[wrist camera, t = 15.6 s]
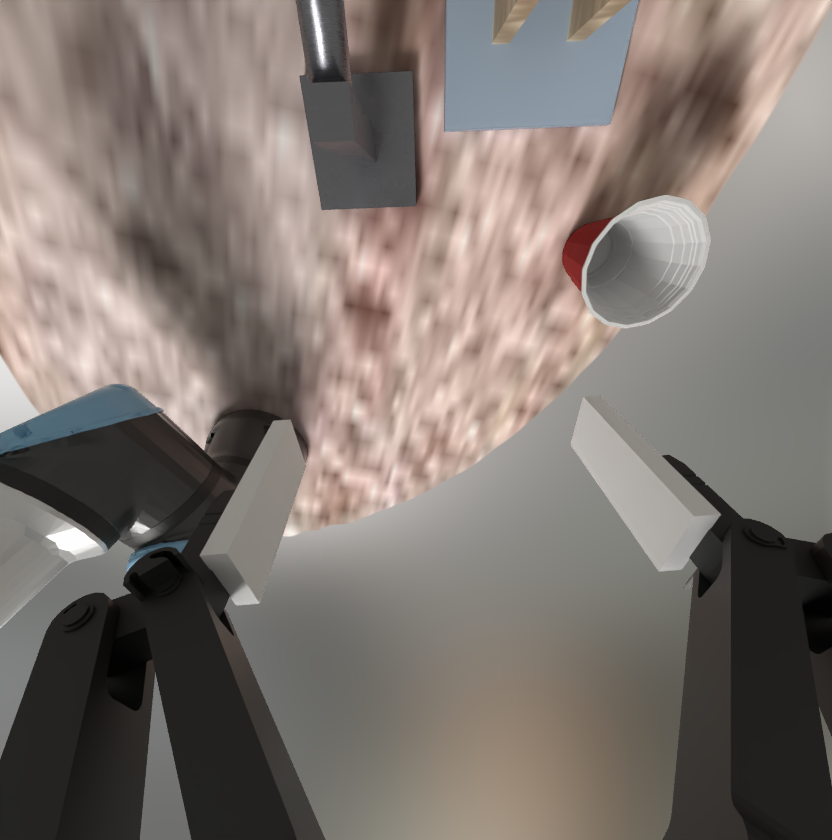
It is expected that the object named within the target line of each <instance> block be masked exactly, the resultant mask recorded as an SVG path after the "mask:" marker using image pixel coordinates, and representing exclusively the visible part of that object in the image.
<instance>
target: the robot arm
mask: <svg viewBox="0 0 832 840" xmlns="http://www.w3.org/2000/svg"><path fill="white" fill-rule="evenodd" d="M162 411H164V410H163V409H161V408H159V407H156V406H155V405H154V404H152V403H151V402H150V401H149V400H148V399H146V398H145V397H144V396H143V395H142V394H141V393H139V392H138V391H137V390H136V389H134V388H132V387H130V386H128V385H124V384H111V385H107V386H104V387H102V388H100V389H98V390H95V391H93V392H91V393H88V394H86V395H84V396H82V397H79V398H77V399H75V400H73V401H71V402H68V403H66V404H64V405H62V406H59V407H57V408H55V409H53V410H51V411H48V412H46V413H44V414H41V415H39V416H37V417H35V418H33V419H30V420H28V421H26V422H24V423H22V424H19V425H17V426H15V427H13V428H10V429H8V430H6V431H4V432H2V433H0V628H1V627H2V626H3V625H4V624H5V623H6V622H7V621H8V620H9V619H11V617H13V616H14V615H15V614H16V613H17V612H18V611H19V610H20V609H21V608H22V607H23V606H24V605H25V604H26V603H27V602H28V601H30V599H32V598H33V597H34V596H35V595H36V594H37V593H38V592H39V591H40V590H41V589H42V588H43V587H44V586H45V585H46V584H47V583H48V582H50V581H51V580H52V579H53V578H54V577H55V576H56V575H57V574H58V573H59V572H60V571H61V570H62V569H63V568H64V567H65V566H66V565H68V564H70V563H72V562H74V561H76V560H81V559H85V558H90V557H94V556H98V555H103V554H104V553H105V552H106V551H108V550H109V549H110V547H112V545H114V543H116V542H117V541H118V540H120V541H121V542H123V543H124V544H126V545H128V546H129V547H131V548H132V549H134V550H135V552H134V553H133V554H132V555H131V556H130V557H129V560H128V564H127V568H126V569H127V574H126V575H125V577H124V583H123V586H125V587H126V588H127V589H128V590H129V591H130V592H131V594H127V595H125V596H122V597H119V598H116V599H113V600H111V599H110V598H109V597H108V596H106V595H105V594H104V593H93V594H89V595H86V596H83V597H81V598H80V599H78V600H76V601H74V602H72V603H71V604H70V605H68V606H67V607H66V608H65V609H63V610H62V611H61V612H60V613H59V614H58V615H57V616H56V617H55V618H54V620H53V621H52V622H51V624H50V626H49V627H48V629H47V631H46V634H45V637H44V639H43V642H42V645H41V648H40V650H39V653H38V656H37V659H36V661H35V664H34V667H33V670H32V673H31V675H30V678H29V681H28V684H27V687H26V689H25V692H24V695H23V698H22V701H21V703H20V706H19V709H18V712H17V714H16V718H15V720H14V723H13V725H12V728H11V731H10V734H9V737H8V739H7V742H6V745H5V748H4V751H3V753H2V756H1V759H0V840H140V830H141V819H142V808H143V796H144V787H145V776H146V765H147V754H148V743H149V732H150V721H151V711H152V710H151V709H152V699H153V689H154V678H155V672H156V677H157V682H158V686H159V691H160V695H161V700H162V705H163V709H164V714H165V719H166V723H167V728H168V733H169V737H170V742H171V746H172V751H173V756H174V760H175V765H176V770H177V774H178V779H179V784H180V788H181V793H182V798H183V802H184V807H185V811H186V816H187V821H188V826H189V830H190V835H191V839H192V840H325V838H324V835H323V833H322V831H321V828H320V826H319V824H318V821H317V819H316V817H315V815H314V812H313V810H312V807H311V805H310V803H309V800H308V798H307V796H306V794H305V791H304V789H303V787H302V784H301V782H300V780H299V777H298V775H297V773H296V770H295V768H294V766H293V763H292V761H291V759H290V756H289V754H288V752H287V749H286V747H285V745H284V743H283V740H282V738H281V736H280V734H279V731H278V729H277V726H276V724H275V722H274V719H273V717H272V715H271V712H270V710H269V708H268V705H267V703H266V701H265V698H264V696H263V694H262V692H261V689H260V687H259V685H258V683H257V680H256V678H255V675H254V673H253V671H252V668H251V666H250V664H249V662H248V659H247V657H246V654H245V652H244V650H243V648H242V645H241V643H240V640H239V638H238V636H237V634H236V631H235V629H234V627H233V624H232V622H231V620H230V617H229V615H228V613H227V612H226V610H225V609H224V608H225V606H226V603H227V601H228V599H229V596H230V598H231V599H232V600H233V602H234V603H235V604H236V605H247V604H259V603H260V601H261V598H262V595H263V592H264V589H265V586H266V583H267V580H268V577H269V574H270V571H271V568H272V565H273V562H274V559H275V556H276V553H277V550H278V547H279V544H280V541H281V538H282V535H283V532H284V529H285V527H286V524H287V521H288V518H289V515H290V512H291V509H292V506H293V503H294V500H295V497H296V494H297V491H298V488H299V485H300V482H301V479H302V476H303V473H304V470H305V467H306V464H305V463H306V460H307V448H306V444H305V442H304V440H303V438H302V437H301V435H300V434H299V433H298V431H297V430H296V429H295V428H294V427H293V425H292V422H291V419H289V420H282V419H281V418H279V417H277V416H274V415H272V414H269V413H265V412H261V411H253V410H244V411H237V412H233V413H230V414H228V415H226V416H224V417H223V418H221V419H220V420H219V421H218V422H217V424H216V425H215V426H214V427H213V429H212V430H211V431H210V433H209V435H208V437H207V441H206V445H205V450H203V449H201V448H200V447H199V446H198V445H197V444H196V443H195V442H194V441H193V440H192V439H191V438H190V437H189V436H188V435H187V434H186V433H185V432H184V431H182V430H181V429H180V428H179V427H178V426H177V425H176V424H175V423H174V422H173V421H172V420H171V419H170V418H169V417H168V416H167V415H166V414H164V413H163V412H162ZM571 446H572V448H573V449H574V450H575V452H576V453H577V455H578V456H579V457H580V459H581V460H582V462H583V463H584V465H585V466H586V468H587V469H588V470H589V472H590V473H591V475H592V476H593V478H594V479H595V481H596V482H597V483H598V485H599V486H600V488H601V489H602V491H603V492H604V493H605V495H606V496H607V498H608V499H609V501H610V502H611V503H612V505H613V506H614V508H615V509H616V511H617V512H618V513H619V515H620V516H621V518H622V519H623V521H624V522H625V524H626V525H627V526H628V528H629V529H630V531H631V532H632V533H633V535H634V536H635V538H636V539H637V541H638V542H639V544H640V545H641V547H642V548H643V549H644V551H645V552H646V554H647V555H648V556H649V558H650V559H651V561H652V562H653V564H654V565H655V566H656V568H657V569H658V571H668V570H669V571H670V570H682V569H683V567H684V566H685V564H686V563H687V562H688V560H689V559H691V560H692V562H693V563H694V564H695V565H696V567H697V569H696V571H695V572H694V573H693V575H692V576H691V578H690V579H689V580H688V581H687V583H686V585H685V587H684V588H685V589H689V588H690V587H691V585H693V587H692V598H691V609H690V620H689V621H690V622H689V631H688V642H687V653H686V664H685V676H684V686H683V696H682V707H681V719H680V729H679V740H678V750H677V761H676V773H675V783H674V794H673V805H672V814H671V820H670V824H669V828H668V830H667V832H666V834H665V836H664V838H663V840H832V786H831V779H830V773H829V766H828V761H827V755H826V748H825V742H824V736H823V730H822V724H821V718H820V712H819V707H820V710H821V712H822V715H823V717H824V719H825V722H826V724H827V726H828V729H829V731H830V733H831V736H832V533H830V534H825V535H824V536H823V537H822V538H821V539H820V540H819V541H818V542H817V543H813V542H807V541H801V540H796V539H790V538H785V537H784V536H783V535H782V534H781V533H780V532H778V531H777V530H775V529H774V528H772V527H771V526H769V525H766V524H764V523H761V522H760V521H756V520H752V519H743V518H742V517H741V516H740V515H739V514H738V513H736V511H735V510H734V509H732V508H731V507H730V506H729V505H728V504H727V503H726V502H725V501H724V500H723V499H722V498H721V497H719V496H718V495H717V494H716V493H715V492H714V491H713V490H712V489H711V488H710V487H709V486H708V485H705V482H704V481H702V480H701V479H700V478H699V477H696V474H695V473H694V472H693V471H692V470H690V468H688V467H687V466H686V465H685V464H684V463H682V462H681V461H679V460H677V459H675V458H674V457H672V456H670V455H664V456H663V455H662V456H661V455H660V454H659V453H658V452H657V451H656V450H655V449H654V448H653V447H652V446H651V445H650V444H649V443H648V442H647V441H646V440H645V439H644V438H643V437H642V436H641V435H640V434H639V433H638V432H637V431H636V430H635V429H634V428H633V427H632V426H631V425H630V424H629V423H628V422H627V421H626V420H625V419H624V418H623V417H622V416H620V414H619V413H618V412H617V411H615V409H613V408H612V407H611V406H610V405H609V404H608V403H607V402H606V401H605V400H604V399H603V398H602V397H601V396H590V397H589V396H588V397H583V400H582V404H581V408H580V411H579V415H578V419H577V423H576V427H575V430H574V434H573V438H572V442H571Z"/></svg>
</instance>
